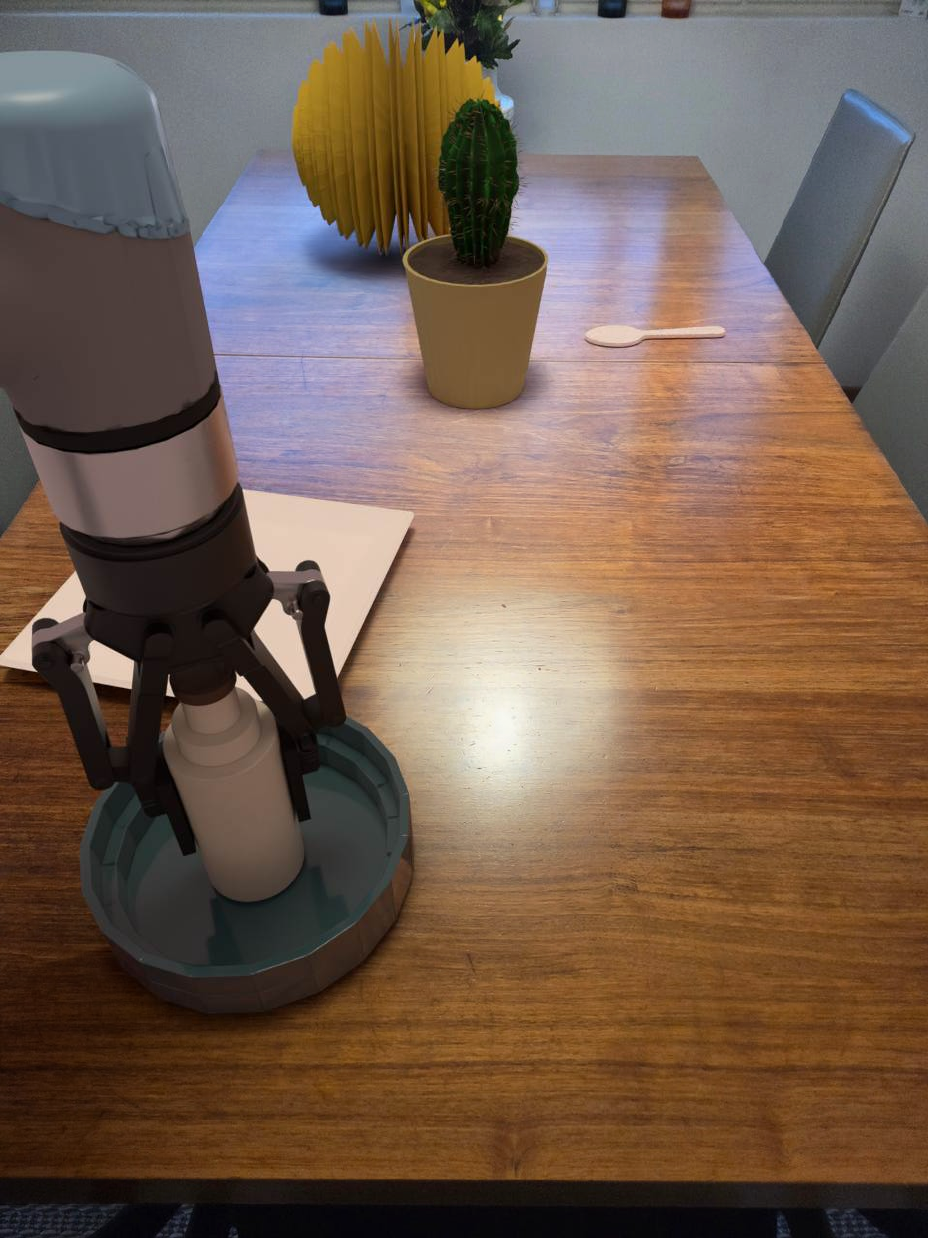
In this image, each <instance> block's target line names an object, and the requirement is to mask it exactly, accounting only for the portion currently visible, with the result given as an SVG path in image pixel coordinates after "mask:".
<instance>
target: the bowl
mask: <svg viewBox="0 0 928 1238" xmlns="http://www.w3.org/2000/svg"><path fill="white" fill-rule="evenodd" d="M260 702H262V703H263V704H265V703H264V702H263V701H260ZM265 705H266V704H265ZM273 715H274V714H273ZM274 717H275V716H274ZM165 732H166V730H165V731H163V732H160V735H159V744H158V748H160V747H163V739H164V735H165ZM316 736H317V739H318V743H319V746H318V753H319V759H320V764H321V765H320V767H319V770H318V771H316V772H312V773H309V774H305V775H302V776H303V781H304V785H305V790H306V795H307V800H308V805H309V810H310V815H311V819H310V820H306V821H303V822H299V821H298V823H299V827H300V831H301V836H302V840H303V845H304V860H303V864H302V867H301V869H300V871H299V873H298V875H297V876H296V878H295V879H294V880H293V881H292V882H291V883H290V884H289V886H287V887H286V888H285V889H284V890H282V891H281V892H279V893H278V894H276V895H274V896H272V897H269V898H267V899H264V900H260V901H253V902H243V901H236V900H233V899H230V898H227V897H226V896H224V895H222V894H221V893H220V892H218V891H217V890H216V889H215V888H214V886H213V885H212V883H211V881H210V879H209V876H208V874H207V871H206V868H205V865H204V863H203V860H202V857H201V855H200V852H199V849H198V846H197V844H196V841H195V845H196V852H197V853H194V854H190V855H187V856H183V854H182V852H181V849H180V847H179V844H178V842H177V839H176V836H175V834H174V831H173V829H172V826H171V824H170V821H169V819H168V816H167V814H164V815H161V816H157V817H153V818H150V817H149V816H147V815H146V814H145V813H144V811H143V808H142V806H141V803H140V801H139V799H138V796H137V794H136V791H135V789H134V787H133V786H132V785H131V784H129V783H126V782H115V783H114V785H113V786H112V787H110V788H109V789H106V790H102V792H101V793H100V795H99V797H98V798H97V799H96V800H95V802H94V803H93V806H92V809H91V812H90V814H89V818H88V821H87V824H86V827H85V830H84V832H83V835H82V839H81V842H80V844H79V869H80V870H79V871H80V892H81V894H82V897H83V899H84V901H85V902H86V904H87V907H88V908H89V911H90V912H91V914H92V916H93V918H94V920H95V922H96V924H97V926H98V928H99V930H100V933H101V934H102V935H103V938H104V939H105V941H106V942H107V945H108V946H109V947H110V949H111V951H112V953H113V955H114V957H115V958H116V960H117V961H118V964H119V965H120V967H121V968H122V969H123V970H124V971H125V972H126V973H127V974H128V975H129V976H131V977H132V978H133V979H134V980H136V981H137V982H138V983H139V984H140V985H142V986H143V987H144V988H146V989H147V990H148V991H149V992H151V994H153V995H154V996H155V997H156V998H158V999H160V1000H162V1001H166V1002H169V1003H172V1004H176V1005H178V1006H181V1007H185V1008H187V1009H192V1010H195V1011H198V1012H202V1013H205V1014H209V1015H210V1014H213V1015H214V1014H215V1015H216V1014H237V1013H238V1014H240V1013H243V1014H244V1013H263V1012H267V1011H270V1010H273V1009H276V1008H279V1007H282V1006H284V1005H287V1004H290V1003H293V1002H296V1001H299V1000H302V999H305V998H308V997H311V996H314V995H316V994H319V993H320V992H323V990H324V989H326V988H328V987H329V986H331V985H332V984H333V983H335V982H336V981H337V980H339V979H340V978H342V977H343V976H344V975H346V974H347V973H349V972H351V970H353V969H354V968H356V967H357V966H359V965H360V964H362V963H363V962H364V961H365V959H366V958H367V957H368V956H369V954H371V952H372V951H373V949H374V948H375V947H376V946H377V945H378V943H379V942H380V941H381V939H382V938H383V937H384V936H385V935H386V933H387V932H388V931H389V929H390V928H391V927H392V926H393V924H394V923H395V922H396V920H397V918H398V916H399V913H400V910H401V908H402V905H403V902H404V900H405V897H406V894H407V892H408V889H409V887H410V883H411V881H412V878H413V860H414V859H413V856H414V855H413V854H414V853H413V851H414V849H413V848H414V834H413V833H414V832H413V821H412V809H411V797H410V792H409V789H408V786H407V784H406V781H405V779H404V776H403V774H402V771H401V769H400V766H399V763H398V761H397V758H396V756H395V755H394V754H393V753H392V752H391V751H390V750H389V749H388V748H387V746H385V744H384V743H383V742H382V741H381V740H380V739H379V738H378V736H376V734H375V733H374V732H373V731H372V730H371V729H370V728H369V727H368V726H365V725H363V724H362V723H360V722H358V721H356V720H355V719H352V718H351V717H348V716H347V717H346V721H345V723H343V724H342V725H341V726H338V727H334V728H333V727H328V726H327V725H326V726H325V727H323V728H321V729H320V730H319V731H318V732H317V734H316ZM296 814H297V813H296ZM297 818H298V817H297ZM194 839H195V838H194Z"/></svg>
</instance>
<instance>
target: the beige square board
mask: <svg viewBox="0 0 928 1238" xmlns="http://www.w3.org/2000/svg"><path fill="white" fill-rule="evenodd" d="M242 490H243V495H244V499H245V504H246V509H247V514H248V519H249V523H250V528H251V533H252V538H253V543H254V547H255V552H256V555H257V557H258V558H259V559H260V560H261V561H262V562H263V563H265V565H266V566H267V567H268V569H269V571H295V569H296V567H297V565H298V564H299V563H301V562H303V561H305V560H312V561H315V562H316V563H317V564H318V565H319V568H320V570H321V573H322V576H323V578H324V581H325V584H326V586H327V589H328V591H329V594H330V603H329V608H328V613H327V617H326V622H325V630H326V634H327V639H328V643H329V647H330V651H331V655H332V659H333V663H334V667H335V671H336V675H337V678H338V677H339V675H340V673H341V671H342V669H343V667H344V665H345V663H346V660H347V658H348V656H349V654H350V652H351V650H352V648H353V645H354V643H355V641H356V639H357V637H358V635H359V634H360V631H361V629H362V626H363V624H364V623H365V620H366V618H367V616H368V614H369V612H370V609H371V608H372V605H373V603H374V601H375V599H376V597H377V595H378V594H379V590H380V589H381V587H382V585H383V582H384V580H385V579H386V576H387V575H388V572H389V570H390V568H391V566H392V563H393V561H394V559H395V557H396V555H397V553H398V551H399V549H400V547H401V544H402V542H403V540H404V538H405V536H406V534H407V532H408V530H409V528H410V525H411V523H412V522H413V519H414V517H415V513H414V512H413V511H409V510H404V509H403V510H402V509H396V508H395V509H394V508H387V507H379V506H371V505H364V504H359V503H358V504H356V503H350V502H343V501H334V500H328V499H327V500H326V499H320V498H311V497H304V496H297V495H290V494H282V493H275V492H268V491H259V490H251V489H246V488H245V489H244V488H242ZM85 597H86V596H85V593H84V591H83V588H82V585H81V583H80V580H79V578H78V575H77V573H76V570H74V572H72V574H71V575H70V576H69V577H68V579H67V580H66V581H65V582H64V583H63V584H62V585H61V586H60V588H59V589H57V591H56V592H55V593H54V594H53V595H52V596H51V598H50V599H49V600H48V601H47V602H46V603H45V604H44V606H43V607H41V609H40V610H39V611H38V612H37V613H36V615H35V616H34V617H33V618H32V619H31V620H30V621H29V622H28V623H27V624H26V626H25V627H24V628H23V629H22V630H21V631H20V632H19V634H18V635H16V636H15V638H14V639H13V641H11V643H9V645H8V646H7V647H6V648H5V650H4V651H3V652H2V653H1V654H0V666H1V667H7V668H11V669H12V668H13V669H18V670H25V671H30V672H33V673H34V672H36V673H38V672H37V671H36V670H35V669H34V668H33V666H32V625H33V623H34V622H35V621H37V620H38V619H42V618H51V619H54V620H56V621H57V622H59V623H61V622H63V621H65V620H68V619H70V618H72V617H74V616H76V615H78V614H81V613H83V603H84V600H85ZM254 630H255V632H256V634H257V635H258V637H259V638H260V639H261V641H262V642H263V643H264V645H265V646H266V648H267V649H268V650H269V652H270V653H271V654H272V656H273V657H274V658H275V660H276V661H277V663H278V664H279V665H280V667H281V668H282V669H283V671H284V672H285V674H286V675H287V676H288V678H289V679H290V680H291V682H292V683H293V684H294V686H295V687H296V689H297V690H298V691H299V693H300V694H301V695H302V697H303V698H304V699H306V698H308V697H310V696H312V695H314V694H316V693H315V690H314V686H313V682H312V679H311V675H310V671H309V668H308V664H307V660H306V657H305V653H304V649H303V646H302V642H301V639H300V635H299V631H298V628H297V624H296V620H294V619H293V618H292V616H290V615H287V614H286V613H285V612H284V611H283V608H282V605H281V602H280V601H278V600H276V599H272V600H271V602H270V604H269V605H268V607H267V608H266V610H265V612H264V613H263V615H262V616H261V618H260V620H259V621H258V623H257V624H256V626H255V628H254ZM87 666H88V669H89V672H90V676H91V679H92V682H93V683H95V684H101V685H106V686H113V687H117V688H124V689H128V690H132V679H133V668H134V661H133V660H131V659H129V658H127V657H125V656H123V655H121V654H120V653H118V652H116V651H114V650H112V649H110V648H108V647H106V646H104V645H102V644H101V643H99V642H97V641H95V640H93V641H92V642H91V643H90V660H89V662H88V663H87ZM169 675H170V674H169ZM236 675H237V681H236V684H235V687H239V688H241V689H243V690H245V691H246V692H248V693H249V694H250V695H251V696H252V697H253V698H255V699H257V700H259V701H262V699H261V698H260V697H259V696H258V694H257V693H256V692H255V690H254V689H253V688H252V687H251V685H250V684H249V683H248V682H247V680H246V679H245V678H244V677H243V676H242V677H240V676H239V675H238V674H237V673H236ZM166 697H173V698H176V697H175V696H174V694H173V692H172V689H171V686H170V683H169V677H168V685H167V693H166Z"/></svg>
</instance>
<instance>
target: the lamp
mask: <svg viewBox="0 0 928 1238" xmlns="http://www.w3.org/2000/svg"><path fill="white" fill-rule="evenodd" d="M414 19H415V18H412V22H411V27H410V31H409V37H408V43H407V46H406V47H407V48H406V54H405V57H404V63H403V55H402V49H401V47H402V46H401V39H400V29H399V19H398V16H396V21H395V35H394V30H393V26H392V18H391V15H389V16H388V61H387V58H386V55H385V51H384V48H383V44H382V41H381V38H380V34H379V31H378V26H377V24H376V21H375V19H374V18H372V21H371V27H370V25H369V22H368V20H367V19H366V20H365V23H364V47H363V46H362V44H361V42H360V40H359V38H358V36H357V35H356V32H355V30H354V28H353V27H352V26H350V27H349V32H348V31H346V30H343V34H342V43H341V44H342V45H341V46H342V47H341V50H340V48H339V47H338V45H337V44H336V43H335V42H334V41H333V40H330V42H329V46H328V45H325V46H324V49H323V58H322V62H320V60H318V59H317V58H314V59H313V62H312V64H310V65H309V68H308V74H307V75H308V77H307V81H306V80H304V79H303V80H302V81H301V84H300V87H299V89H298V93H297V94H298V95H297V104H295V105H294V107H293V113H292V131H291V143H292V145H291V146H292V152H293V159H294V161H295V164H296V170H297V175H298V178H299V179H300V182H301V185H302V187H305V191H306V193H307V197H308V200H309V201H310V202H311V204H312V206H313V207H314V208H317V207H319V211H320V214H321V217H322V219H323V221H326V223H327V225H328V226H329V227H330V226H331V225H333V224H334V222H336V228H337V231H338V233H339V236H340V237H344V239H345V240H346V241H348V240H349V239H350V237H351V236H352V234H353V233H354V232H355V236H356V242H357V245H358V248H359V249H361V248H362V247H364V248H363V249H364V250H365V251H366V252H367V251H368V249H369V246H370V244H371V241H372V239H373V237H374V234H375V235H376V242H377V248H378V249H377V250H378V252H379V255H380V256H382V254H383V250H384V252H385V255H386V257H388V256H389V252H390V246H391V242H392V238H393V232H394V228H395V227H394V226H395V222H396V224H397V233H398V245H399V251H400V258H403V255H404V253H403V252H404V244H405V249H406V251H407V250H408V249H409V248H410V219H411V222H412V225H413V229H414V232H415V235H416V239H417V243H419V242H422V241H424V240H427V239H429V226H430V227H431V229H432V231H433V233H434V235H435V237H438V236H442V235H446V234H450V233H449V232H448V231H450V227H449V226H450V223H449V224H448V223H447V224H446V225H445V223H446V222H449V215H448V214H446V212H445V211H448V207H442V206H446V204H445V201H444V200H445V199H444V195H443V196H441V195H442V194H443V193H442V192H441V191H439V190H438V189H439V188H438V186H436V185H438V184H437V182H438V177H437V176H438V174H437V173H438V171H439V169H438V167H439V157H440V155H441V144H442V143H441V142H442V139H443V135H444V134H445V133H446V130H447V127H449V124H450V122H452V121H454V120H455V118H454V119H451V117H452V118H453V116H454V115H456V114H455V113H456V112H458V111H459V109H460V107H461V106H462V105H463V104H464V103H466V101H467V100H469V99H470V98H471V99H473V101H476V102H477V99H478V98H479V100H481V101H482V100H483V99H485V100H486V98H487V100H488V101H489V103H490V104H495V106H496V107H498V104H499V102H500V101H501V100H500V99H498V100H496V94H495V93H496V91H495V84H494V83H493V82H492V80H491V77H490V76H488V77H486V78H484V79H483V72H482V71H483V70H482V62H481V61H478V60H477V56H476V55H474V56H473V57H472V58H471V59H470V60H469V61H467V62H466V54H465V53H466V52H465V51H466V50H465V44H464V42H462V43H461V44H459V39H458V37H457V38H456V39H455V40H454V42H453V44H451V47H450V48H449V49H448V51H447V53H446V52H445V51H446V49H445V48H446V47H445V33H444V28H441V30H440V33H439V35H438V27H437V24H436V25H435V27H434V30H433V32H432V35H431V37H430V39H429V42H428V44H427V46H426V49H425V52H424V54H423V51H422V50H423V49H422V46H423V45H422V24H421V23H422V22H421V19H420V20H419V24H418V27H417V31H416V34H415V20H414ZM348 33H349V34H348ZM422 54H423V55H422ZM484 89H485V90H484ZM483 92H484V93H483ZM482 94H483V96H482ZM469 96H470V97H469ZM475 96H476V97H475ZM481 96H482V98H481ZM473 97H474V98H473ZM455 98H456V99H457V100H456V99H455ZM465 99H466V100H465ZM460 100H461V101H460ZM464 100H465V101H464ZM490 100H491V101H490ZM457 101H458V102H459V103H460V104H461V106H460V104H459V103H457ZM461 102H462V103H461ZM500 103H501V102H500ZM451 104H452V105H451ZM450 105H451V106H450ZM456 106H457V107H458V108H459V109H458V108H457V107H456ZM499 106H500V108H499V107H498V108H499V110H500V111H501V112H502V113H503V107H501V106H502V105H501V104H500V105H499ZM453 107H454V108H453ZM451 108H453V110H454V109H455V110H456V112H454V111H455V110H454V111H453V110H452V109H451ZM448 111H449V112H450V114H449V112H448ZM451 113H452V114H454V115H453V116H452V114H451ZM444 116H445V117H444ZM449 116H450V117H449ZM454 117H455V116H454ZM446 119H447V120H446ZM448 119H449V120H448ZM447 121H448V122H447ZM435 141H436V142H435ZM437 142H438V143H437ZM432 145H433V146H432ZM436 146H438V147H436ZM438 152H439V153H438ZM431 154H433V155H431ZM434 155H436V156H434ZM437 156H438V157H437ZM437 159H438V160H437ZM432 168H437V169H435V171H437V173H435V171H434V170H430V169H432ZM425 170H426V171H425ZM429 171H430V172H429ZM433 171H434V172H433ZM431 172H432V173H434V174H435V175H434V174H432V173H431ZM436 175H437V176H436ZM432 178H437V179H432ZM435 180H437V181H435ZM432 181H433V182H432ZM434 181H435V182H434ZM433 183H435V184H434V185H433ZM430 184H431V185H430ZM437 188H438V189H437ZM437 190H438V191H439V192H438V191H437ZM436 191H437V192H438V193H437V192H436ZM435 192H436V193H437V194H436V193H435ZM440 192H441V194H440ZM440 196H441V197H442V198H441V197H440ZM439 197H440V198H439ZM443 199H444V200H443ZM442 200H443V201H444V202H443V201H442ZM441 201H442V202H443V203H444V204H445V205H444V204H443V203H442V202H441ZM440 202H441V203H442V205H440V204H441V203H440ZM437 206H438V207H437ZM436 207H437V208H436ZM435 208H436V209H435ZM441 209H442V210H441ZM444 209H446V210H444ZM444 213H445V214H444ZM447 213H448V212H447ZM442 214H443V215H442ZM441 216H445V217H441ZM447 218H448V219H447ZM442 219H444V220H445V221H444V220H442ZM446 219H447V220H446ZM442 221H443V222H442ZM446 226H448V227H449V228H448V227H447V228H448V229H447V228H445V227H446ZM442 229H443V230H442ZM404 242H405V243H404Z"/></svg>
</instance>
